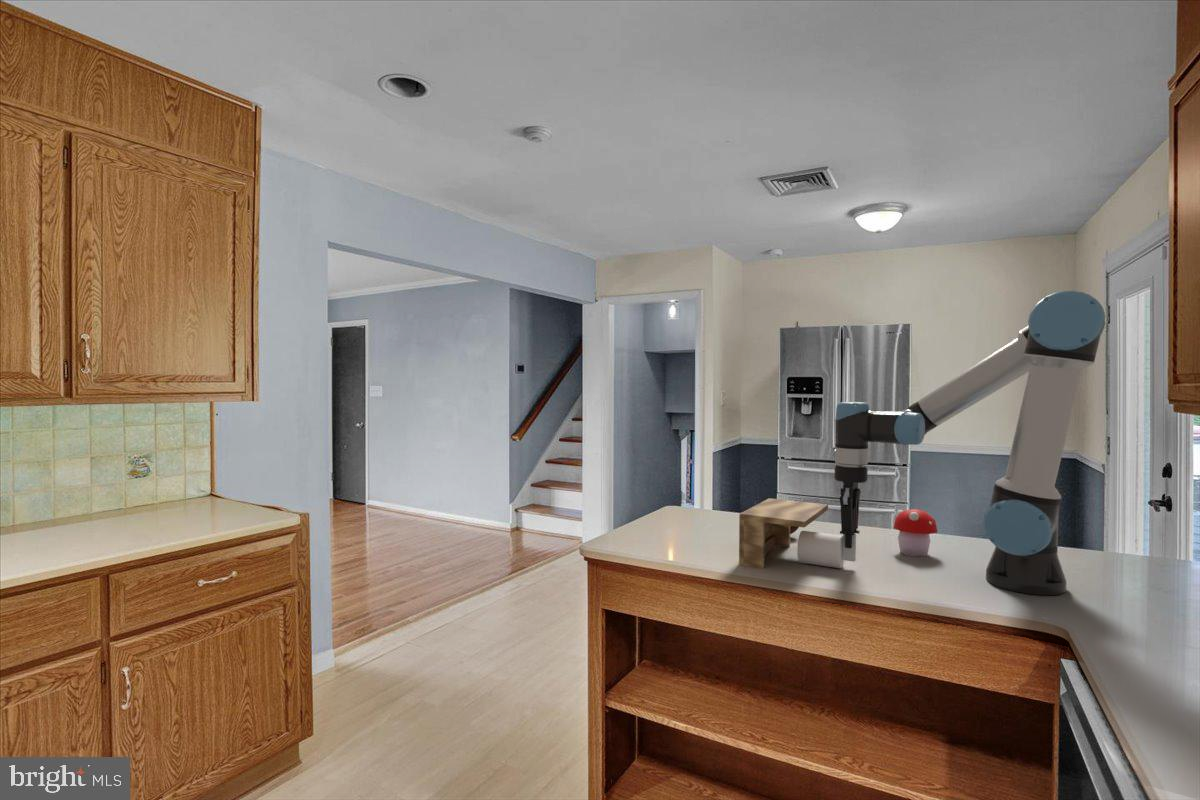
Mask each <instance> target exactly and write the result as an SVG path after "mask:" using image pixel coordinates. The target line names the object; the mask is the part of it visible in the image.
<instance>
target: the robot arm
mask: <svg viewBox="0 0 1200 800" xmlns="http://www.w3.org/2000/svg"><path fill="white" fill-rule="evenodd" d="M1105 319H1106V314H1105V311H1104V308H1103V306H1102V304H1101V303H1100V301H1098V300H1097V299H1096V298H1095V297H1094V296H1092V294H1089V293H1086V292H1083V291H1079V290H1078V291H1076V290H1063V291H1062V290H1061V291H1057V292H1054V293H1051V294H1048V295H1047V296H1045V297H1043V298H1042V299H1040V301H1038V302H1037V303H1036V304H1035V306H1033V308H1032V310H1031V311H1030V313H1029V316H1028V320H1027V322H1028V323H1027V324H1028V325H1026V326H1025V327H1024V328H1022V329H1020V330H1019V331H1018V334H1017V337H1016V338H1015V339H1013V340H1012V341H1011V342H1009V343H1008V344H1006V345H1004V346H1003V347H1001V348H1000V349H998V350H996V351H995V352H993V353H991V354H990V355H989V356H987V357H985V358H983V359H982V360H981V361H979V362H977V363H975V365H973V366H971V367H970V368H967V369H966V370H965V371H964V372H961V373H960V374H958V375H956V376H955V377H954V378H952V379H951V380H949V381H947V382H946V383H944V384H943V385H941V386H939V387H938V388H936V389H935V390H933V391H931V392H930V393H928V394H926V395H925V396H923V397H922V398H921V399H919V400H918V401H916V402H914V403H912V404H911V405H910V406H907V407H906V408H904V409H903V410H899V411H897V410H896V411H876V410H870V409H871V408H870V405H869V403H867V402H864V401H863V402H860V401H841V402H838V404H837V405H836V410H835V411H836V412H835V420H834V423H835V424H834V425H835V427H834V429H835V434H834V435H835V436H834V438H835V440H834V441H835V444H834V445H835V446H834V450H832V454H833V455H834V462H835V464H836V465H834V475H833V476H834V477H833V478H834V480H835V481H838V482H842V483H843V485H842V487H841V488H840V496H839V504H840V523H841V530H840V531H839V535H842V536H843V560H844V561H847V562H848V561H849V562H855V561H856V555H857V553H856V551H857V534H860V530H859V529H858V528H859V515H860V512H859V511H860V498H861V493H862V491H861V488H859V484H860V483H861V484H862V483H866V482H868V470H869V469H868V467H867V466H866V465H868V464H869V442H870V443H882V444H883V443H884V444H896V445H903V446H907V445H908V446H909V445H911V446H914V445H915V446H918V445H920V444H922V443H923V440H924V438H925V436H926V435H927V433H929V432H931V431H932V430H934V429H935V428H937V427H938V426H940V425H942V424H943V423H945V422H948V420H950V419H951V418H953V417H955V416H957V415H959V414H960V413H961V412H963V411H965V410H967V409H969V408H970V407H972V406H974V405H975V404H977V403H978V402H980V401H981V400H984V399H986V398H987V397H988V396H990V395H992V394H994V393H996V392H997V391H1000V390H1001V389H1002V388H1004V387H1005V386H1007V385H1009V384H1010V383H1012V382H1015V381H1016V380H1018V379H1020V378H1021V377H1022V376H1024V375H1026V374H1027V373H1028V375H1027V379H1026V383H1025V388H1024V393H1023V398H1022V402H1021V406H1020V410H1019V415H1018V419H1017V423H1016V428H1015V432H1014V437H1013V441H1012V445H1011V449H1010V453H1009V457H1008V462H1007V468H1006V472H1005V475H1003V477H1001V478H999V479H997V480H996V481H995V482H994V486H993V491H992V494H991V498H990V504H989V507H988V509H987V510H986V512H985V513H984V516H983V528H984V529H983V530H984V533H985V535H986V537H987V538H988V540H989V541H990V542H991V544H993V545H994V550H993V552H992V555H991V557H990V560H989V561H988V564H987V567H986V569H985V580H986V581H987V582H989V583H990V584H992V585H994V586H996V587H998V588H1002V589H1005V590H1008V591H1012V592H1016V593H1023V594H1027V595H1028V594H1029V595H1037V596H1038V595H1039V596H1060V595H1063V594H1065V593H1066V592H1067V577H1066V576H1065V573H1064V570H1063V567H1062V565H1061V562H1060V559H1059V554H1058V547H1059V546H1058V544H1059V542H1058V541H1059V515H1060V514H1059V512H1060V511H1059V510H1060V505H1061V501H1062V495H1061V494H1060V492H1059V490H1058V489H1057V488H1056V486H1055V485H1056V482H1057V478H1058V474H1059V469H1060V466H1061V460H1062V457H1063V453H1064V449H1065V445H1066V440H1067V436H1068V432H1069V427H1070V423H1071V420H1072V419H1071V418H1072V416H1073V415H1072V414H1073V411H1074V407H1075V402H1076V398H1077V395H1078V394H1077V393H1078V390H1079V387H1080V386H1079V385H1080V382H1081V377H1082V373H1083V371H1084V370H1086V369H1087V368H1089V367H1090V366H1092V365H1094V364H1095V361H1096V356H1097V353H1098V349H1099V348H1098V347H1099V344H1100V339H1101V336H1102V334H1103V331H1104V330H1105V326H1106V325H1105V324H1106V320H1105Z"/></svg>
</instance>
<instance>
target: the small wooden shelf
mask: <svg viewBox="0 0 1200 800" xmlns="http://www.w3.org/2000/svg"><path fill="white" fill-rule="evenodd" d="M828 510H829V504H825V503H817V502H809V501H807V502H806V501H796V500H788V499H780V498H779V499H778V498H767V499H765V500H763V501H761V502H759V503H757V504H756V505H754V506H752V507H749V508H748V509H746V510H744V511H742V512H740V513H739V517H738V518H739V522H738V523H739V528H738V529H739V533H738V538H739V539H738V548H739V549H738V565H739V566H744V567H745V566H746V567H750V568H751V567H752V568H756V569H764V568H765V555H766V554H768V553H769V552H770V551H772V550H773V549H775V548H776V547H782V548H790V547H791V534H790V526H796V527H799V528H806V527H807V526H809V525H810V524H811V523H812V522H814V521H815V520H817V519H818V518H819V517H821V516H822V515H823V514H825V512H827V511H828Z"/></svg>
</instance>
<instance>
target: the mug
mask: <svg viewBox="0 0 1200 800" xmlns="http://www.w3.org/2000/svg"><path fill="white" fill-rule="evenodd" d="M797 559H798V562H799V563H801V564H807V565H808V564H809V565H816V566H822V567H830V568H836V569H842V568H843V566H844V563H845V560H843V534H833V533H825V532H816V531H808V530H801V531H800V533H799V536H798V541H797Z"/></svg>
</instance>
